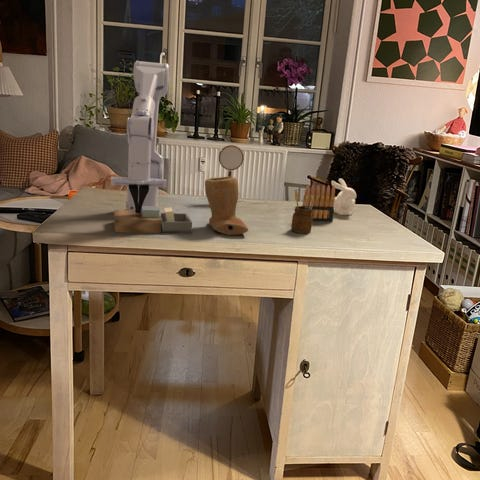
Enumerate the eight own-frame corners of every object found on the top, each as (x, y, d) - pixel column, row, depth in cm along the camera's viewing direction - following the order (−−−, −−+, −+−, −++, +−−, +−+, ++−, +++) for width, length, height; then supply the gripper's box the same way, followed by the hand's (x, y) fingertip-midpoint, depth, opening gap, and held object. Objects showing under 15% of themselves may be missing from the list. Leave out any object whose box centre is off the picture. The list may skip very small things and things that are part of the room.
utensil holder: (305, 235, 146) (311, 194, 142) (286, 230, 149) (291, 190, 145) (314, 231, 150) (319, 191, 147) (295, 227, 153) (299, 188, 150)
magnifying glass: (239, 202, 181) (244, 145, 175) (239, 203, 179) (244, 146, 173) (215, 200, 179) (219, 144, 174) (215, 201, 178) (219, 144, 172)
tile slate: (142, 217, 135) (142, 209, 135) (141, 213, 140) (141, 206, 139) (159, 217, 137) (159, 210, 136) (157, 213, 141) (158, 206, 140)
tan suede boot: (200, 221, 150) (203, 171, 146) (239, 223, 152) (244, 173, 148) (205, 236, 136) (209, 181, 132) (248, 237, 138) (253, 183, 134)
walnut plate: (114, 232, 132) (114, 219, 131) (114, 222, 141) (114, 209, 140) (160, 232, 135) (161, 220, 134) (157, 222, 144) (157, 211, 143)
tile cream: (165, 212, 137) (173, 211, 137) (164, 208, 141) (171, 207, 141) (168, 228, 138) (175, 226, 138) (166, 223, 142) (173, 222, 143)
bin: (161, 232, 135) (162, 222, 134) (158, 222, 144) (158, 212, 144) (191, 233, 137) (192, 222, 136) (186, 223, 146) (186, 213, 146)
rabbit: (354, 217, 173) (359, 183, 170) (327, 214, 174) (331, 179, 171) (352, 210, 184) (357, 177, 181) (326, 207, 186) (331, 174, 182)
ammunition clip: (330, 220, 165) (335, 184, 162) (332, 222, 164) (337, 185, 160) (299, 219, 163) (304, 183, 159) (301, 221, 161) (306, 184, 158)
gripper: (111, 163, 128) (110, 215, 131) (168, 166, 131) (166, 216, 135) (111, 159, 134) (110, 209, 138) (165, 162, 138) (163, 210, 142)
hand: (138, 212), depth 137 cm, fingers closed
